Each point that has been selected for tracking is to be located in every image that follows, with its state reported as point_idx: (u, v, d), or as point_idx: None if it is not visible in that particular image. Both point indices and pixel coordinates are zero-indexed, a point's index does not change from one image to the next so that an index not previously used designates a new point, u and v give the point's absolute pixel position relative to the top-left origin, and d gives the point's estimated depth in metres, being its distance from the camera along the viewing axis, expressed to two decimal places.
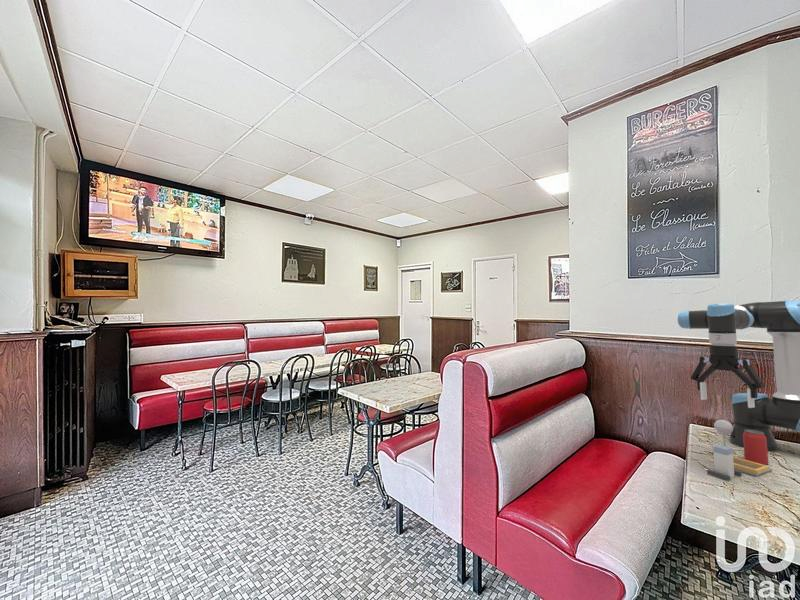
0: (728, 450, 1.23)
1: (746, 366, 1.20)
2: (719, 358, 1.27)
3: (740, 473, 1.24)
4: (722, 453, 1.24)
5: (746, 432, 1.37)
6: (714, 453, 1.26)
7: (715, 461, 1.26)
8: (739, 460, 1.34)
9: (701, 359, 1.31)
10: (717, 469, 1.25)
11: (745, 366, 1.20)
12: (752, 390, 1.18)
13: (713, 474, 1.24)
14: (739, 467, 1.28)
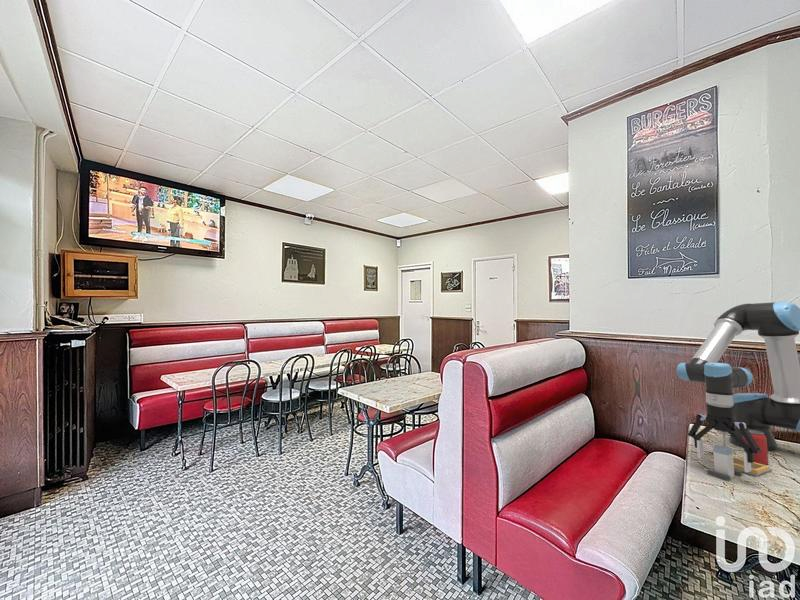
0: (728, 450, 1.23)
1: (743, 430, 1.20)
2: (716, 418, 1.27)
3: (740, 473, 1.24)
4: (722, 453, 1.24)
5: None
6: (714, 453, 1.26)
7: (715, 461, 1.26)
8: (739, 460, 1.34)
9: (698, 417, 1.31)
10: (717, 469, 1.25)
11: (742, 429, 1.20)
12: (749, 454, 1.18)
13: (713, 474, 1.24)
14: (739, 467, 1.28)
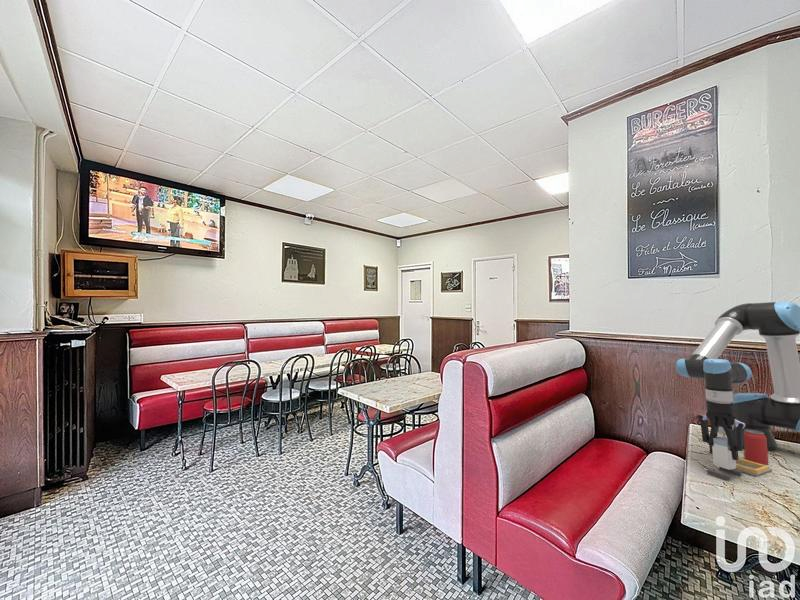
0: (728, 442, 1.24)
1: (739, 429, 1.21)
2: None
3: (740, 473, 1.24)
4: (722, 445, 1.24)
5: (746, 432, 1.37)
6: (714, 445, 1.27)
7: (716, 453, 1.26)
8: (739, 460, 1.34)
9: (700, 417, 1.31)
10: (718, 461, 1.26)
11: (738, 429, 1.21)
12: (733, 452, 1.23)
13: (713, 474, 1.24)
14: (739, 467, 1.28)
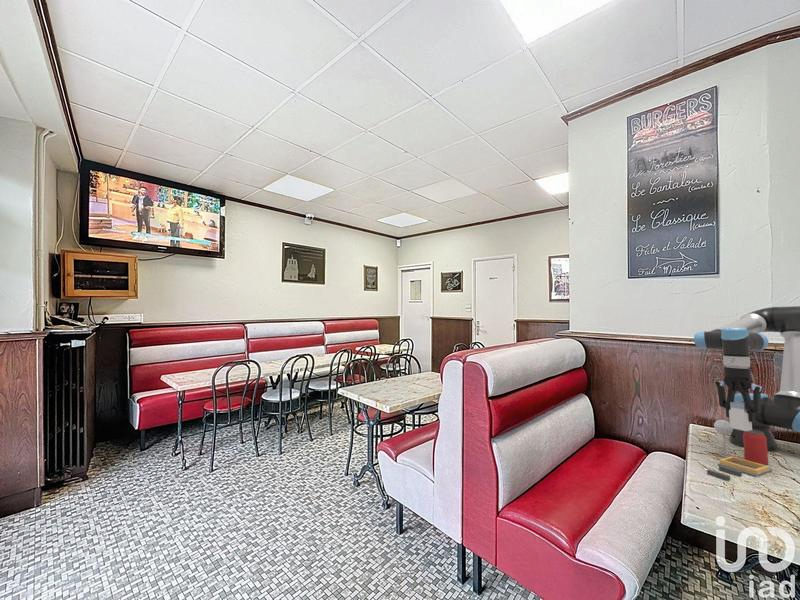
0: None
1: (756, 392, 1.27)
2: (731, 377, 1.34)
3: (740, 473, 1.24)
4: (739, 408, 1.31)
5: (746, 432, 1.37)
6: (731, 408, 1.33)
7: (732, 416, 1.32)
8: (739, 460, 1.34)
9: (717, 384, 1.37)
10: (734, 423, 1.32)
11: (755, 392, 1.27)
12: (750, 414, 1.29)
13: (713, 474, 1.24)
14: (739, 467, 1.28)
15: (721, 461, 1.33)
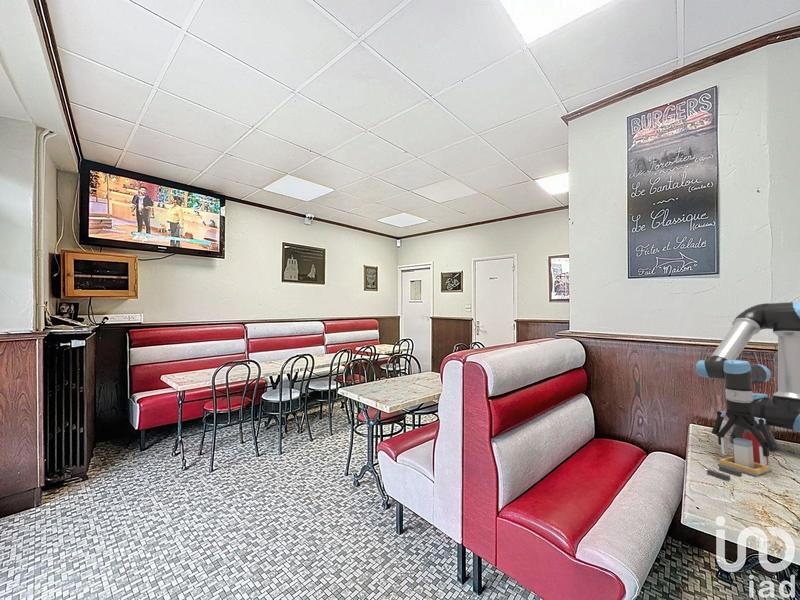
0: (748, 442, 1.29)
1: (762, 425, 1.25)
2: (735, 412, 1.32)
3: (740, 473, 1.24)
4: (742, 445, 1.30)
5: (746, 432, 1.37)
6: (734, 445, 1.32)
7: (735, 453, 1.32)
8: None
9: (718, 413, 1.37)
10: (737, 461, 1.31)
11: (761, 425, 1.26)
12: (764, 449, 1.25)
13: (713, 474, 1.24)
14: (739, 467, 1.28)
15: (721, 461, 1.33)
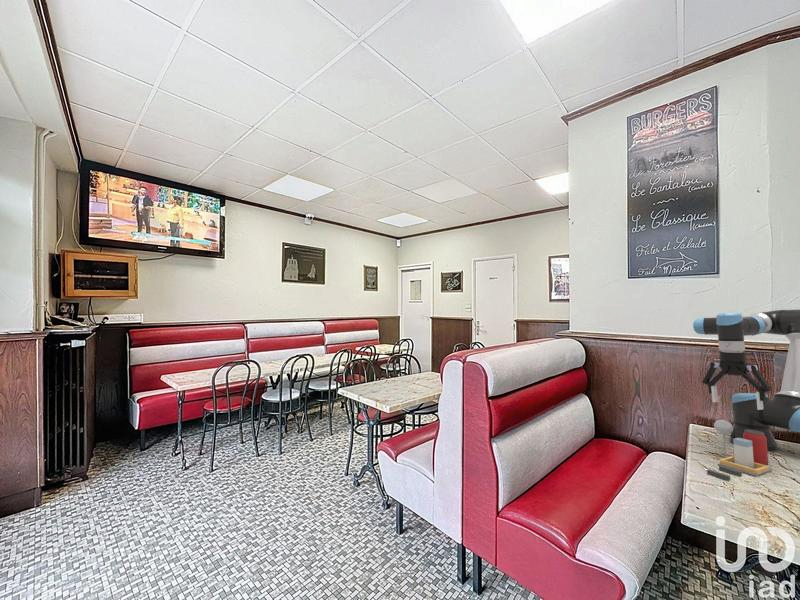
0: (748, 442, 1.29)
1: (755, 371, 1.29)
2: (729, 364, 1.36)
3: (740, 473, 1.24)
4: (742, 445, 1.30)
5: (746, 432, 1.37)
6: (734, 445, 1.32)
7: (735, 453, 1.32)
8: None
9: (712, 364, 1.41)
10: (737, 461, 1.31)
11: (754, 371, 1.30)
12: (761, 393, 1.28)
13: (713, 474, 1.24)
14: (739, 467, 1.28)
15: (721, 461, 1.33)
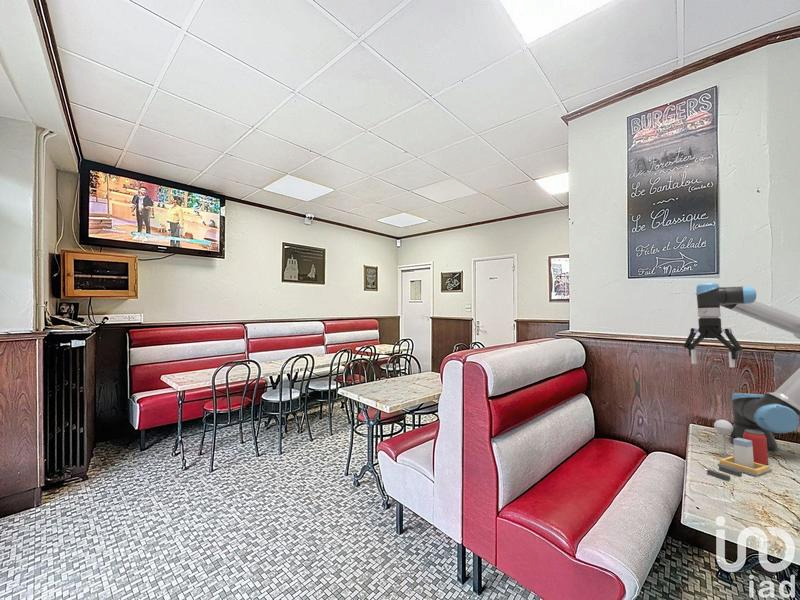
0: (748, 442, 1.29)
1: (728, 333, 1.46)
2: (706, 328, 1.53)
3: (740, 473, 1.24)
4: (742, 445, 1.30)
5: (746, 432, 1.37)
6: (734, 445, 1.32)
7: (735, 453, 1.32)
8: None
9: (692, 330, 1.58)
10: (737, 461, 1.31)
11: (727, 333, 1.46)
12: (732, 353, 1.45)
13: (713, 474, 1.24)
14: (739, 467, 1.28)
15: (721, 461, 1.33)
